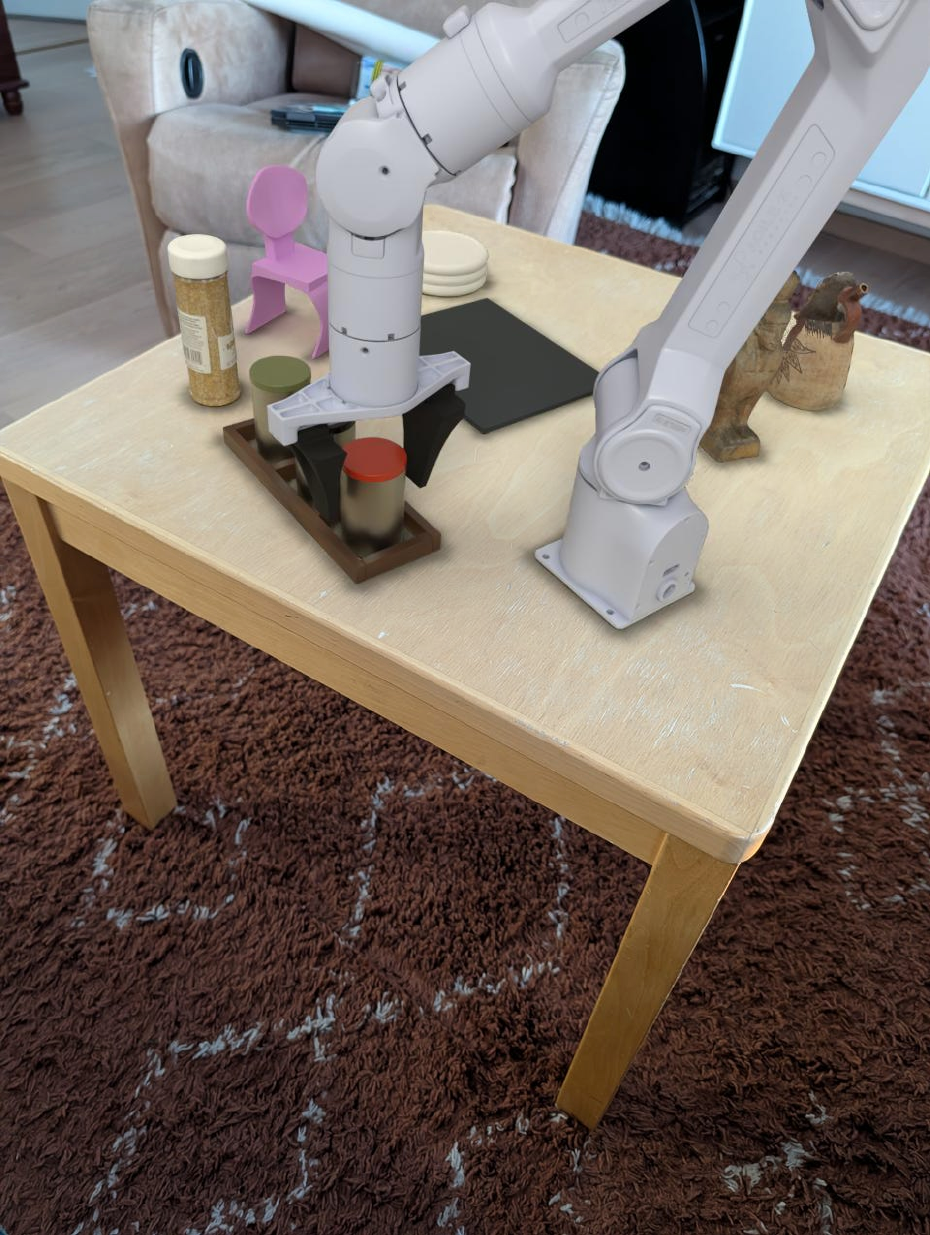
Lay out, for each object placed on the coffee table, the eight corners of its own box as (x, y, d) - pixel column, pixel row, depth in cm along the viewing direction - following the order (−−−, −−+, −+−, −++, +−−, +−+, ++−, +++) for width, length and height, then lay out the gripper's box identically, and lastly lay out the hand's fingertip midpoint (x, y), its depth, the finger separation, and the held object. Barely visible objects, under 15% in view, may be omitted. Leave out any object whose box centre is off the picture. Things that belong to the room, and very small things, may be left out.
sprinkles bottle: (250, 400, 81) (235, 250, 72) (200, 413, 79) (179, 260, 70) (229, 376, 84) (212, 228, 75) (180, 388, 82) (157, 236, 73)
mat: (614, 387, 88) (615, 382, 88) (483, 434, 81) (483, 429, 80) (487, 302, 99) (487, 297, 99) (360, 336, 91) (360, 331, 91)
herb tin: (324, 457, 76) (322, 376, 71) (273, 474, 74) (267, 392, 69) (296, 430, 79) (292, 349, 73) (246, 445, 76) (238, 364, 71)
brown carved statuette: (750, 477, 83) (849, 314, 69) (696, 482, 82) (785, 316, 67) (701, 387, 90) (782, 218, 75) (650, 390, 88) (722, 219, 73)
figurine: (812, 371, 94) (856, 254, 85) (853, 408, 89) (904, 288, 81) (751, 377, 92) (791, 258, 83) (790, 415, 87) (836, 293, 79)
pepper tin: (368, 499, 73) (368, 417, 67) (315, 518, 70) (312, 435, 65) (336, 469, 75) (335, 387, 70) (285, 487, 73) (279, 404, 68)
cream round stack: (432, 251, 107) (434, 220, 105) (503, 278, 103) (507, 247, 101) (377, 277, 101) (378, 245, 98) (450, 307, 97) (453, 275, 95)
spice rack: (440, 549, 69) (441, 534, 68) (356, 584, 65) (356, 568, 64) (302, 418, 80) (301, 403, 79) (223, 442, 77) (222, 427, 75)
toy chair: (312, 365, 86) (305, 201, 76) (237, 337, 89) (221, 175, 79) (361, 331, 92) (362, 174, 81) (290, 306, 95) (281, 150, 84)
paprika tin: (415, 545, 69) (420, 462, 64) (362, 567, 67) (362, 483, 62) (381, 512, 72) (382, 429, 66) (328, 532, 69) (326, 448, 64)
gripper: (432, 271, 63) (422, 440, 72) (237, 318, 56) (254, 498, 65) (496, 315, 59) (476, 487, 68) (295, 370, 52) (304, 554, 61)
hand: (371, 496), depth 66 cm, fingers open, 7 cm apart
